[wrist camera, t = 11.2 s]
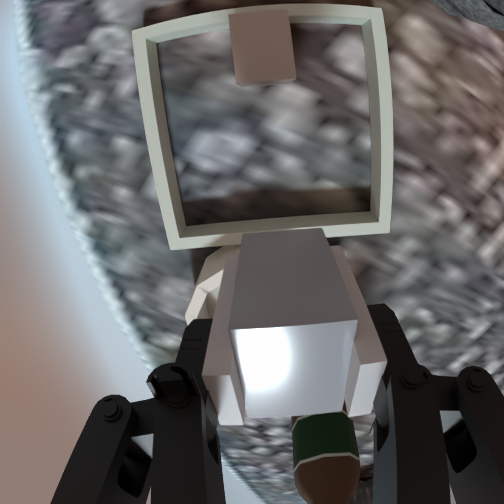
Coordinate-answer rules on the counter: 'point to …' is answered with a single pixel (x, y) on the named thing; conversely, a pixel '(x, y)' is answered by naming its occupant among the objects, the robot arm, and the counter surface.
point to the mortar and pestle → (476, 11)
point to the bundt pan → (363, 493)
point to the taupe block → (262, 48)
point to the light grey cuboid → (291, 324)
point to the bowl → (208, 284)
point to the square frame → (232, 231)
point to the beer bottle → (325, 457)
